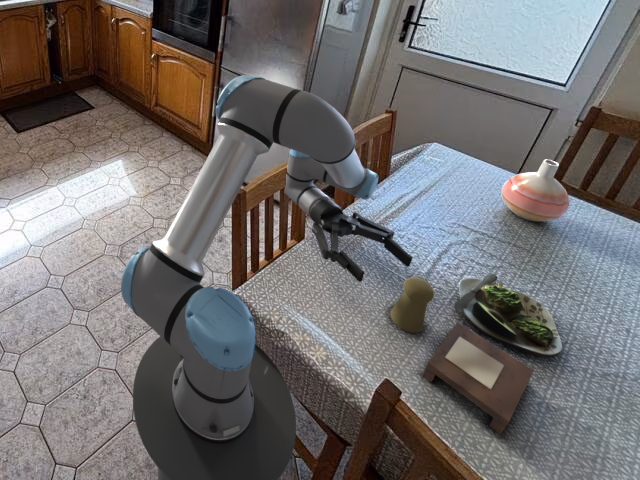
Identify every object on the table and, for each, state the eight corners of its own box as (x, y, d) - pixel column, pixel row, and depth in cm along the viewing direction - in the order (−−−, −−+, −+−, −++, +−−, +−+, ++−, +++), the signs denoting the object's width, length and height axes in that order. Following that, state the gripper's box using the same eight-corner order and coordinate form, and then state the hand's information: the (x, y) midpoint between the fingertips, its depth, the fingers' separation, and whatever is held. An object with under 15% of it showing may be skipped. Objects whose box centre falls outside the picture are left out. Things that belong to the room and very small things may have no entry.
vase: (570, 235, 110) (601, 182, 103) (508, 224, 114) (534, 172, 107) (541, 203, 122) (567, 153, 114) (486, 194, 126) (508, 145, 118)
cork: (394, 328, 87) (408, 292, 82) (387, 304, 92) (400, 269, 88) (426, 336, 86) (443, 300, 81) (417, 311, 91) (432, 275, 86)
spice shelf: (421, 375, 79) (428, 361, 77) (451, 334, 86) (457, 321, 84) (500, 434, 70) (509, 421, 68) (525, 383, 77) (534, 369, 75)
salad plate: (448, 264, 102) (454, 250, 100) (544, 297, 93) (553, 283, 91) (451, 325, 88) (458, 310, 86) (566, 372, 79) (576, 356, 77)
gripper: (355, 210, 115) (424, 267, 97) (278, 229, 109) (337, 295, 91) (361, 188, 112) (433, 244, 94) (282, 207, 106) (344, 271, 88)
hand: (386, 269), depth 92 cm, fingers open, 13 cm apart
